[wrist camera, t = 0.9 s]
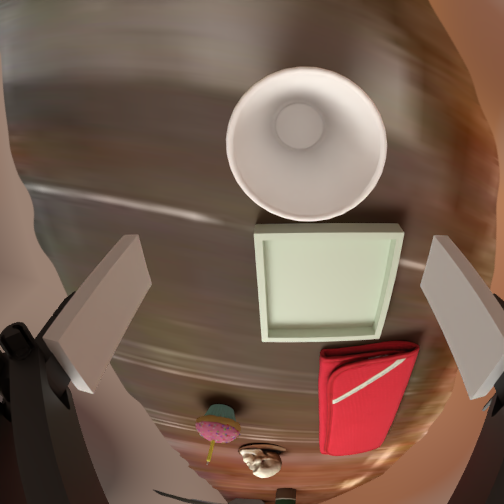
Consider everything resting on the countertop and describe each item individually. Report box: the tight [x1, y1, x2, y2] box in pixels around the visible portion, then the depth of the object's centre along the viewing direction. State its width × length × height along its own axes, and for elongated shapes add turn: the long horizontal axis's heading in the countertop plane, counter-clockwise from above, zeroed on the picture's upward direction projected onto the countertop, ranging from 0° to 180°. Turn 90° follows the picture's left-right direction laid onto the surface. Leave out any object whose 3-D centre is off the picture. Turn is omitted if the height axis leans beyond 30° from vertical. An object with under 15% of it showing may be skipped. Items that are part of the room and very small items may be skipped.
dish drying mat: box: [318, 341, 419, 456], centre depth 49 cm, size 16×41×4 cm, turn 10°
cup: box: [226, 66, 387, 221], centre depth 22 cm, size 10×10×11 cm
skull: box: [238, 444, 286, 478], centre depth 62 cm, size 12×10×10 cm
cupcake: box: [196, 404, 241, 465], centre depth 48 cm, size 9×8×12 cm
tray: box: [254, 223, 404, 342], centre depth 34 cm, size 16×16×2 cm
